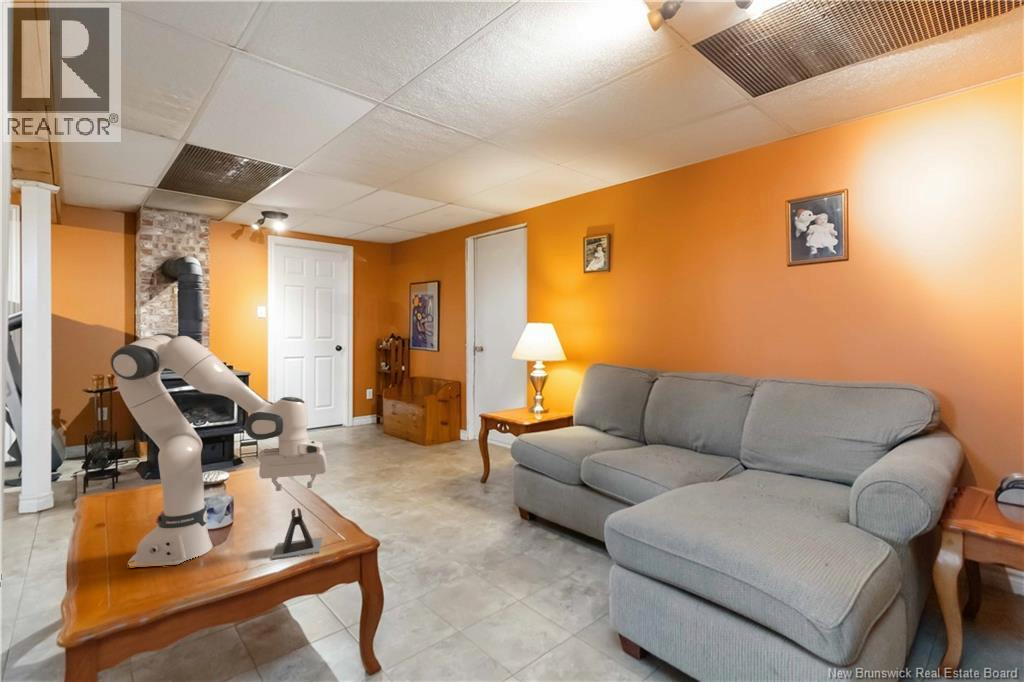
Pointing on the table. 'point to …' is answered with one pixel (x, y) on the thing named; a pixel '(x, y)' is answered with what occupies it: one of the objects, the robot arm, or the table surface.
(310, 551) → the mat
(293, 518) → the black triangular stand
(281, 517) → the table surface
